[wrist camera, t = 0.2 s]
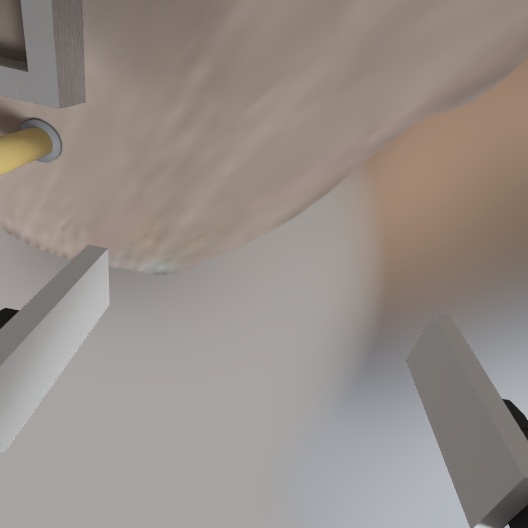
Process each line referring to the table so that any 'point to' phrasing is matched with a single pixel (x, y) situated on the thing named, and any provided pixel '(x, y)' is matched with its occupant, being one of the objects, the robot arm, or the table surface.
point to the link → (48, 56)
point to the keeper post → (29, 145)
